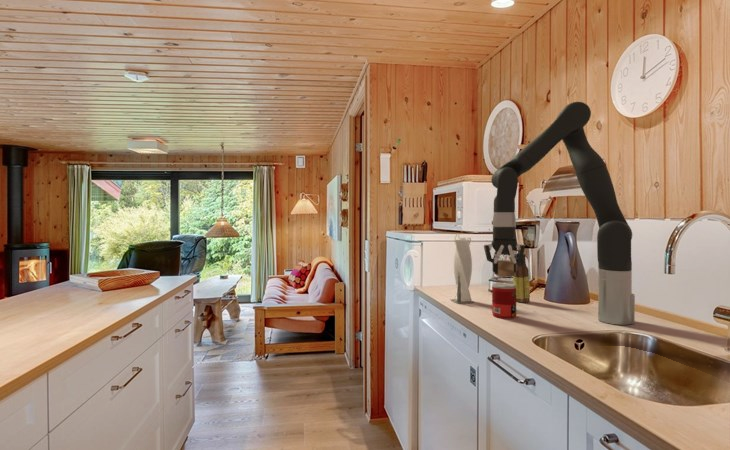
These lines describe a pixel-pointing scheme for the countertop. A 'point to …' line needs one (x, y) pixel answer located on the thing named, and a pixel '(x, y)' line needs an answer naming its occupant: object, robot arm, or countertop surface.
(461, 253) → the skyscraper
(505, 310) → the canned food
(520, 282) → the sauce bottle
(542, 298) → the countertop surface
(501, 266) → the walnut cube
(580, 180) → the robot arm
